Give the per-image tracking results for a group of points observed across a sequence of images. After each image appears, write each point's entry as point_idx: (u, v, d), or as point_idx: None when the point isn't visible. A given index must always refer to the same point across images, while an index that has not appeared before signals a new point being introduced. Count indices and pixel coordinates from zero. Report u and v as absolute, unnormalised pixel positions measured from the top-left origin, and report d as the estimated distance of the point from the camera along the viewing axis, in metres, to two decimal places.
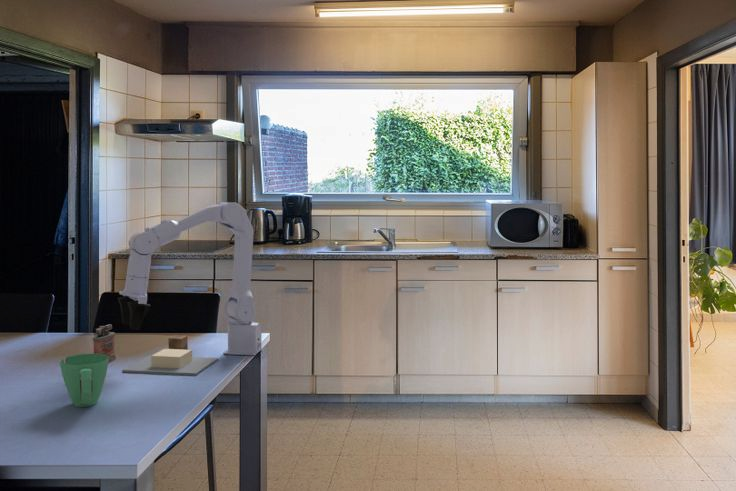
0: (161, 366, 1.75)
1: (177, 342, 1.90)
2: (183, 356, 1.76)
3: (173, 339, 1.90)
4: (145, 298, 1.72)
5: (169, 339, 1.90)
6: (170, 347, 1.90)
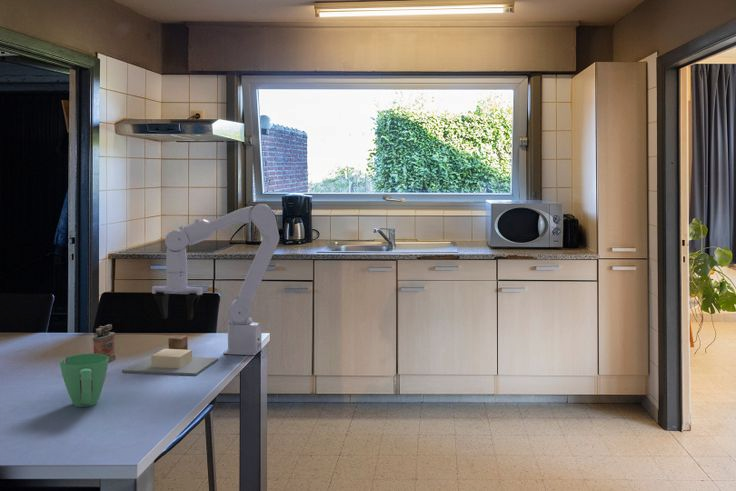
0: (161, 366, 1.75)
1: (177, 342, 1.90)
2: (183, 356, 1.76)
3: (173, 339, 1.90)
4: (202, 289, 1.90)
5: (169, 339, 1.90)
6: (170, 347, 1.90)
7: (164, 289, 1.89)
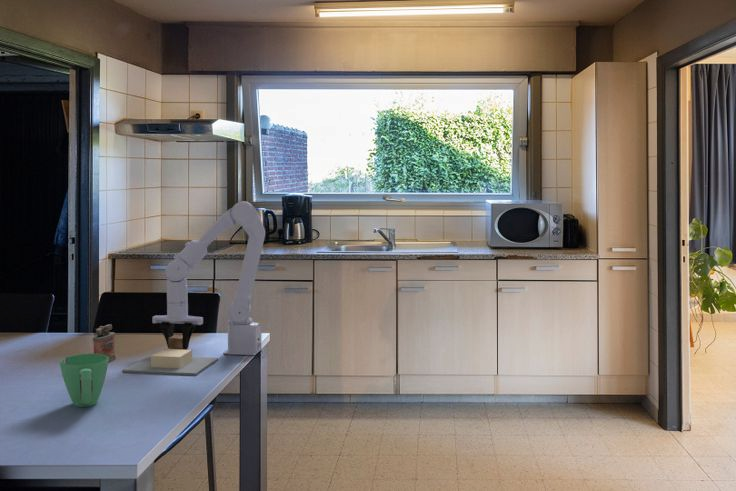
0: (161, 366, 1.75)
1: (177, 342, 1.90)
2: (183, 356, 1.76)
3: (173, 339, 1.90)
4: (202, 318, 1.91)
5: (169, 339, 1.90)
6: (170, 347, 1.90)
7: (165, 319, 1.89)
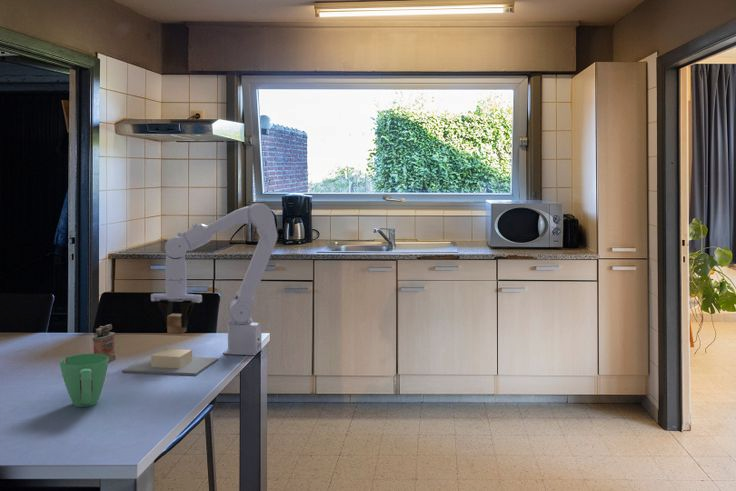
0: (161, 366, 1.75)
1: (175, 320, 1.87)
2: (183, 356, 1.76)
3: (172, 317, 1.87)
4: (201, 296, 1.88)
5: (168, 317, 1.87)
6: (169, 325, 1.87)
7: (163, 297, 1.87)
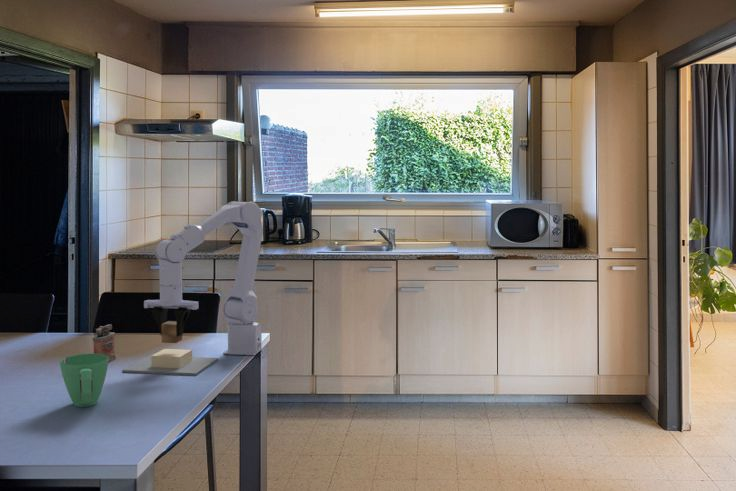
0: (161, 366, 1.75)
1: (170, 328, 1.76)
2: (183, 356, 1.76)
3: (166, 325, 1.76)
4: (197, 303, 1.77)
5: (162, 325, 1.76)
6: (163, 333, 1.76)
7: (157, 303, 1.75)
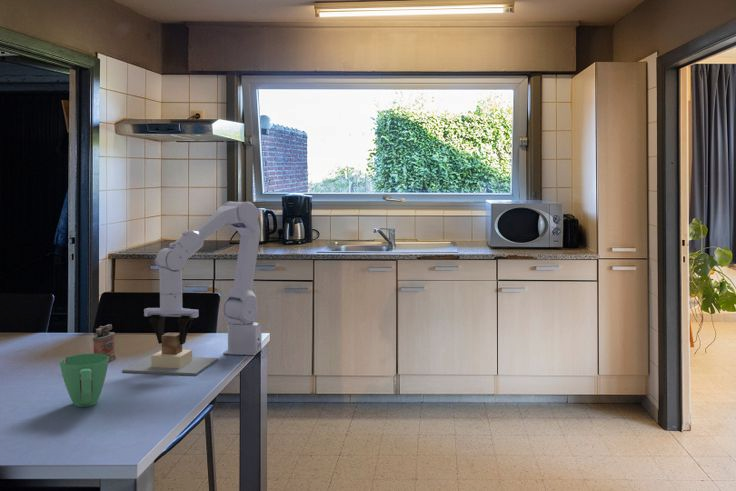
0: (161, 366, 1.75)
1: (171, 340, 1.76)
2: (183, 356, 1.76)
3: (166, 336, 1.76)
4: (197, 311, 1.77)
5: (162, 336, 1.76)
6: (163, 345, 1.76)
7: (157, 312, 1.76)
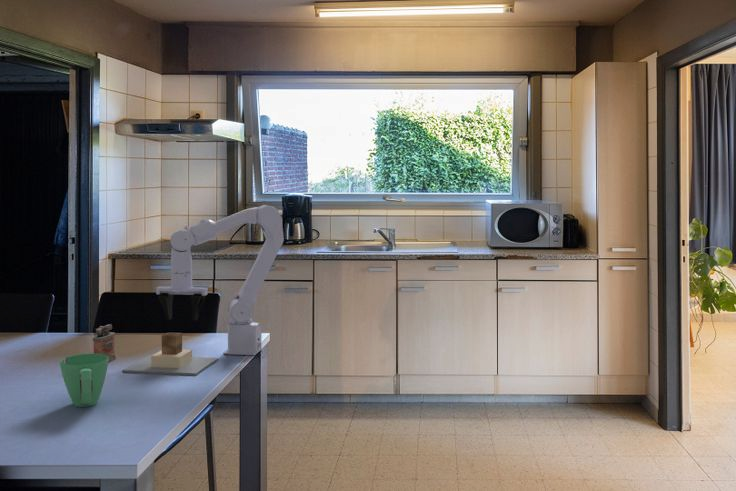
0: (161, 366, 1.75)
1: (171, 340, 1.76)
2: (183, 356, 1.76)
3: (166, 336, 1.76)
4: (207, 289, 1.88)
5: (162, 336, 1.76)
6: (163, 345, 1.76)
7: (169, 290, 1.87)
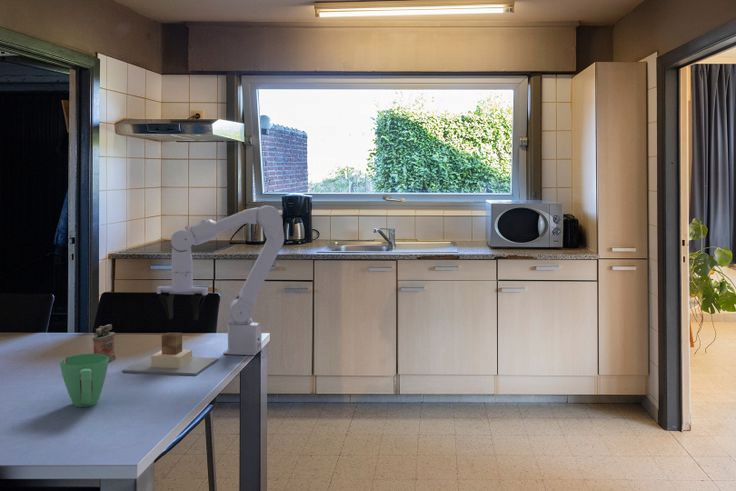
0: (161, 366, 1.75)
1: (171, 340, 1.76)
2: (183, 356, 1.76)
3: (166, 336, 1.76)
4: (207, 289, 1.89)
5: (162, 336, 1.76)
6: (163, 345, 1.76)
7: (169, 289, 1.87)
